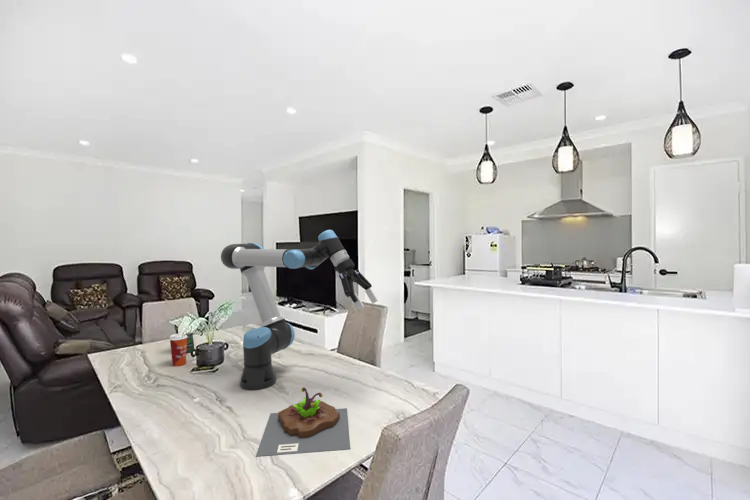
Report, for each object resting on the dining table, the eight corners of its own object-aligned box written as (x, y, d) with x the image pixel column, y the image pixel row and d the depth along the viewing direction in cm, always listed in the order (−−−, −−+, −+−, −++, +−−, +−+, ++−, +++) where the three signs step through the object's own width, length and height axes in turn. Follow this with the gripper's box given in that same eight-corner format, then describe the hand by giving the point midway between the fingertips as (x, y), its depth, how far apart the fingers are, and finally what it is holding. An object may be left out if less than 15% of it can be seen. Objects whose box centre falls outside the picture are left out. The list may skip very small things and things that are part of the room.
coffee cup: (180, 367, 181) (179, 337, 180) (166, 366, 183) (165, 337, 182) (192, 361, 189) (191, 333, 188) (178, 360, 191) (177, 332, 190)
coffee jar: (177, 355, 199) (176, 322, 198) (173, 352, 205) (172, 319, 204) (196, 351, 205) (195, 319, 205) (192, 348, 211) (191, 316, 210)
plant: (317, 401, 142) (316, 373, 142) (347, 420, 127) (347, 389, 127) (268, 419, 129) (268, 388, 128) (296, 443, 114) (295, 408, 114)
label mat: (255, 456, 108) (255, 456, 108) (270, 413, 134) (270, 413, 134) (350, 449, 111) (350, 448, 111) (347, 408, 137) (347, 407, 137)
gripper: (333, 260, 143) (361, 306, 139) (362, 255, 166) (386, 295, 162) (320, 270, 146) (347, 316, 142) (350, 264, 169) (374, 304, 165)
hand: (368, 305), depth 152 cm, fingers open, 13 cm apart
